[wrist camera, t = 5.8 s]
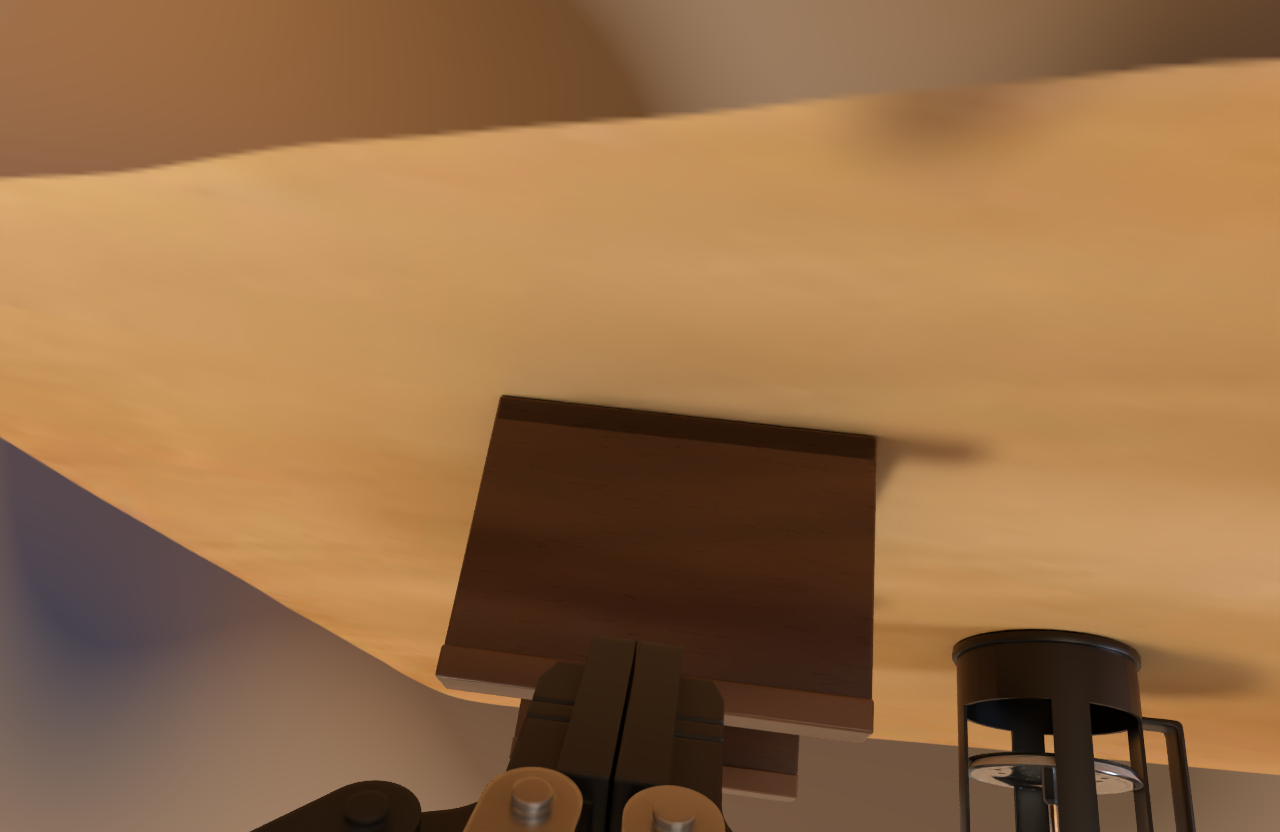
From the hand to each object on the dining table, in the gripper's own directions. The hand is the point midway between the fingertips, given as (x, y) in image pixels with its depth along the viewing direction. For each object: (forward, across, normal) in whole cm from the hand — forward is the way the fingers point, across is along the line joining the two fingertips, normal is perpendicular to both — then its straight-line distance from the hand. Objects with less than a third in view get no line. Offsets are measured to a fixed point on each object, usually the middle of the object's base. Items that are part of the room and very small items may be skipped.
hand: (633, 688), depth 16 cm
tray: (+24, 0, +7) cm, 25 cm away
